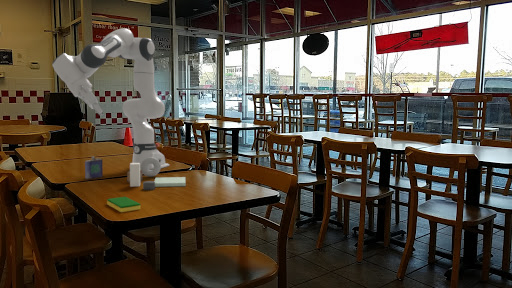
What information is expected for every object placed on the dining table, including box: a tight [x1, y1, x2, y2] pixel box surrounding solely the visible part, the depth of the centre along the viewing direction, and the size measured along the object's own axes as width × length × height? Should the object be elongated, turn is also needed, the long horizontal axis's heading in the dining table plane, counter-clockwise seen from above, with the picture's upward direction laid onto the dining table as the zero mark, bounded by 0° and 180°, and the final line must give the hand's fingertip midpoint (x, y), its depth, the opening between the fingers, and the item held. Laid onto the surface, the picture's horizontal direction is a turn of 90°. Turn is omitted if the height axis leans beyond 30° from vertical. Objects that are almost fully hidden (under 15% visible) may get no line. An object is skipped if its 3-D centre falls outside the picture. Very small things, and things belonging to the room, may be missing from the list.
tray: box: [154, 176, 186, 188], centre depth 191 cm, size 14×14×2 cm
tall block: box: [129, 162, 141, 187], centre depth 185 cm, size 4×4×10 cm
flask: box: [84, 155, 104, 180], centre depth 202 cm, size 9×3×11 cm, turn 146°
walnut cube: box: [126, 170, 143, 183], centre depth 195 cm, size 5×5×5 cm
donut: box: [140, 157, 162, 178], centre depth 207 cm, size 10×4×10 cm, turn 114°
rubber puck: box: [142, 180, 156, 191], centre depth 179 cm, size 5×5×3 cm
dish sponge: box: [106, 196, 141, 213], centre depth 149 cm, size 7×14×2 cm, turn 39°
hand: (101, 113), depth 183 cm, fingers open, 8 cm apart
